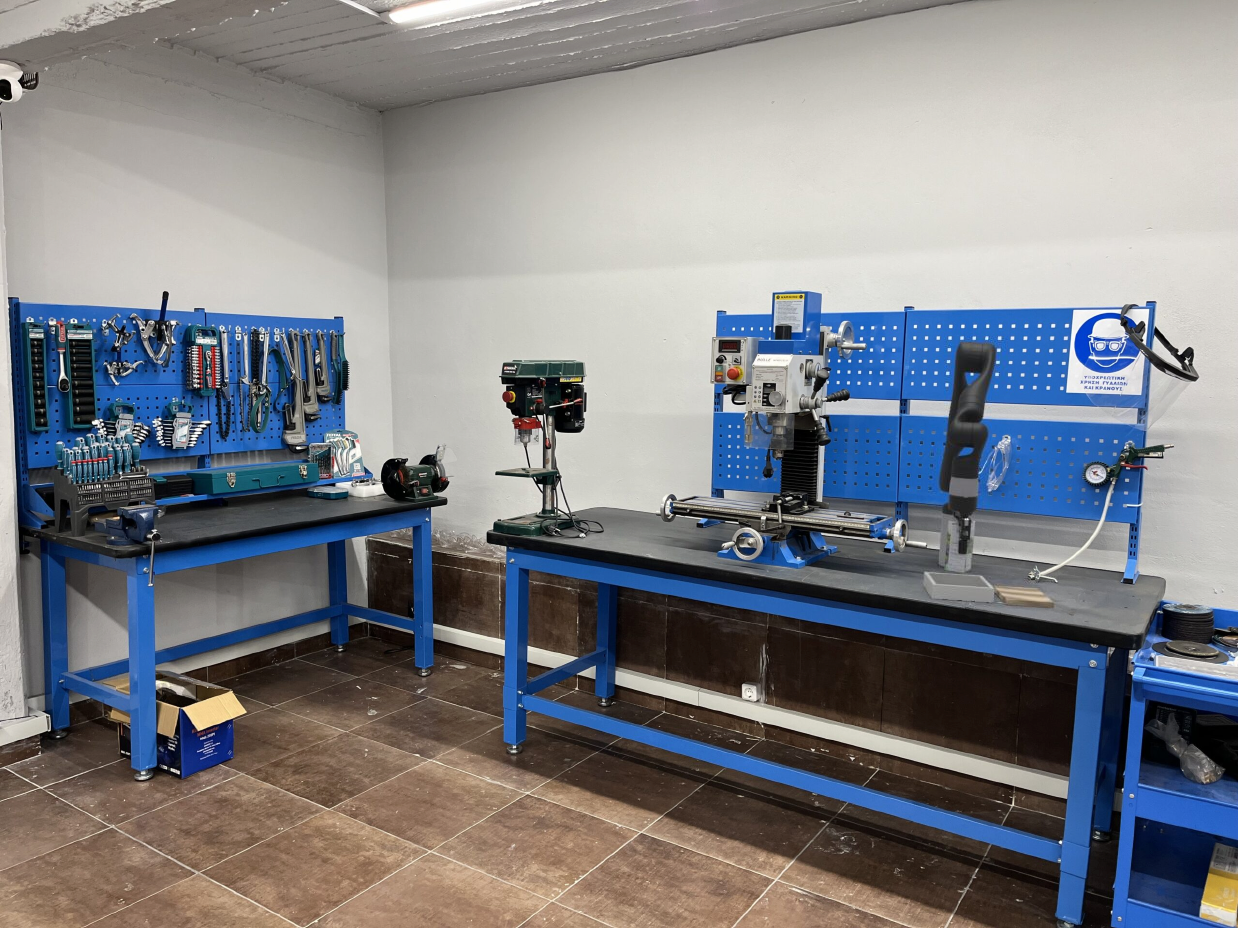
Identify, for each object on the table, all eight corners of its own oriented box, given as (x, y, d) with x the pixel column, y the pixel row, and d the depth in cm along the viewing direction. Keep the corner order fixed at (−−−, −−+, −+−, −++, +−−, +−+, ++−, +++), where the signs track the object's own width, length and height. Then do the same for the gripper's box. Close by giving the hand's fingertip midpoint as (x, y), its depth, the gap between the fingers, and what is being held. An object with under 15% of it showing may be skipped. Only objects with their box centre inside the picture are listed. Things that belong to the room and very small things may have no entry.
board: (992, 590, 252) (992, 585, 252) (1036, 593, 250) (1037, 588, 250) (1006, 604, 237) (1006, 599, 237) (1053, 608, 235) (1054, 602, 234)
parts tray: (923, 585, 257) (924, 571, 256) (980, 589, 254) (981, 575, 254) (932, 598, 241) (933, 584, 241) (993, 602, 238) (994, 588, 238)
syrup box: (951, 566, 251) (954, 517, 250) (972, 570, 248) (975, 519, 246) (943, 570, 247) (947, 519, 245) (965, 573, 243) (968, 522, 242)
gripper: (944, 489, 252) (941, 544, 254) (954, 496, 238) (950, 555, 240) (972, 490, 251) (968, 546, 253) (983, 498, 237) (978, 557, 239)
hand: (959, 550), depth 247 cm, fingers closed on syrup box, 7 cm apart
